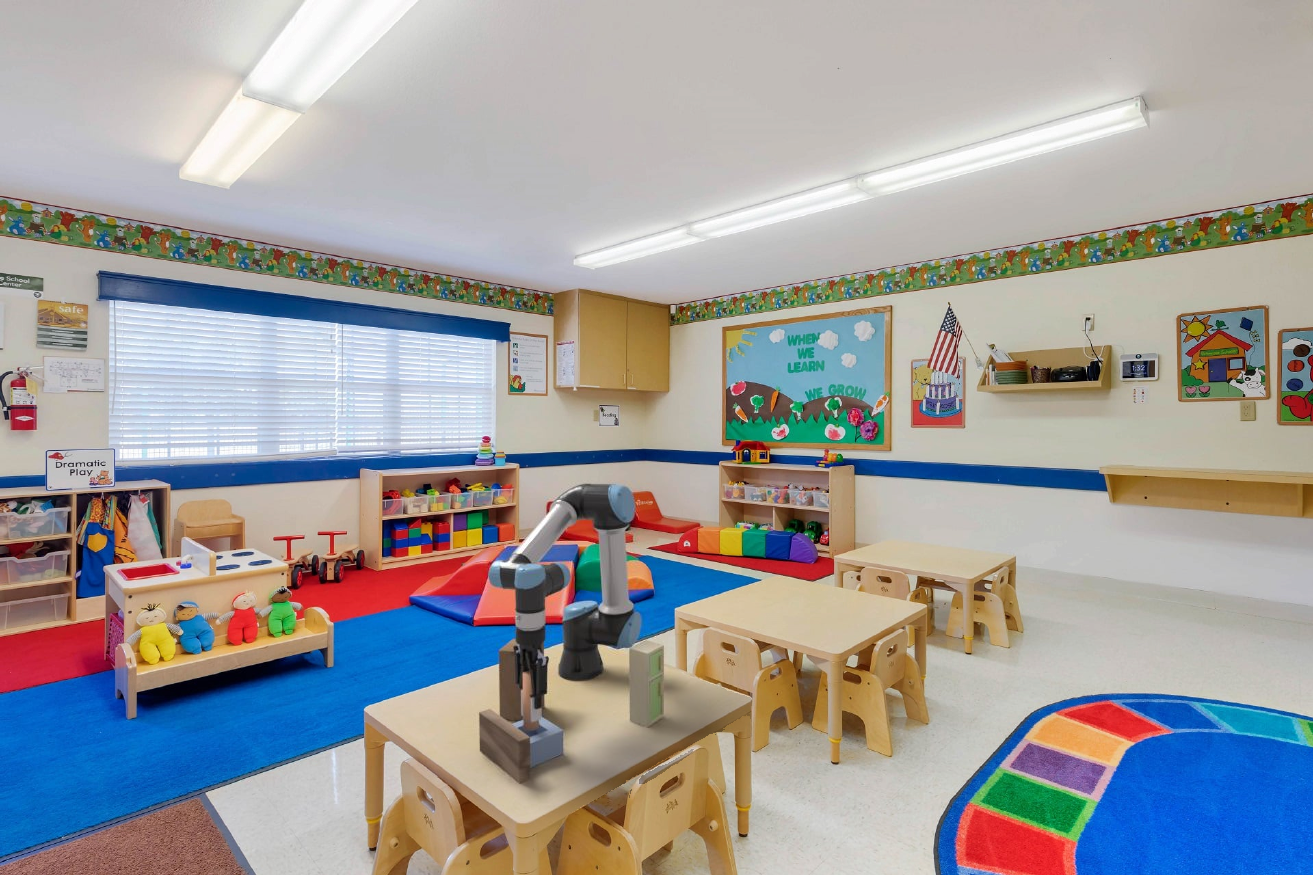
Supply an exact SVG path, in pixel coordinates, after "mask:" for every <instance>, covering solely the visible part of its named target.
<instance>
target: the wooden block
mask: <svg viewBox="0 0 1313 875" xmlns="http://www.w3.org/2000/svg"><path fill="white" fill-rule="evenodd" d="M516 645H519V644H517V643H516V638H512V639H511V640H510V641H509V642H507V643H505V645H503V646H502V647H501V648H500V649H499V651H498V676H499V677H498V686H499V688H498V689H499V690H498V691H499V692H498V693H499V716H501V717H502V718H504V719H505V720H507V721H508V720H509V721H510V720H511V721H517V722H519V721H521V720H523V716H522V715H521V689H520V688H519V684H516V680H515V654H514V649H513V647H514V646H516ZM541 647H542V654H543V656H544V657H545V641H544V642H543V643H542V644H541ZM536 664H537V663H536ZM532 665H533V664H532ZM519 679H520V678H519ZM545 705H546V704H545V695H542V707H541V711H542V710H543V709H544V708H545Z"/></svg>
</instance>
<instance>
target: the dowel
mask: <svg viewBox="0 0 1313 875" xmlns="http://www.w3.org/2000/svg"><path fill="white" fill-rule="evenodd" d="M530 695H532V686H531V677H530V670H528V671H525V672H523V729H524V730H526V731H533V730H536V729H538V728H539V720H537V721H535V722H531V704H530Z"/></svg>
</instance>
